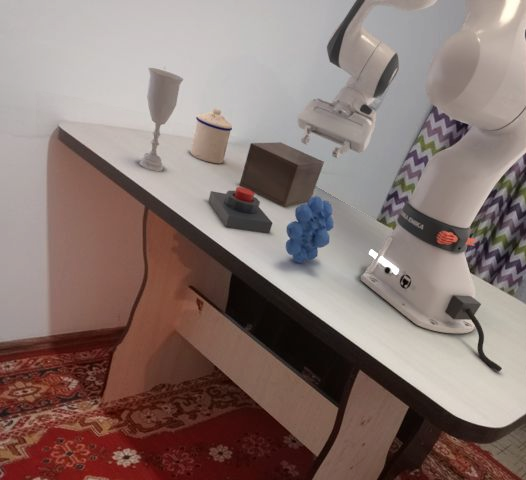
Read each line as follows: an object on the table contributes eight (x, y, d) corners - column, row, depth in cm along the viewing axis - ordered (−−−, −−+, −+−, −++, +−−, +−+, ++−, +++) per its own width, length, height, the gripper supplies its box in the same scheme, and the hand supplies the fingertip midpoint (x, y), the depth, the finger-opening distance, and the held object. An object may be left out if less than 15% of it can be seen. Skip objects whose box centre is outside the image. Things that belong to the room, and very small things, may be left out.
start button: (254, 204, 88) (257, 195, 87) (237, 201, 86) (239, 192, 85) (248, 197, 90) (250, 188, 89) (231, 194, 89) (233, 185, 88)
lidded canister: (230, 166, 119) (242, 118, 113) (199, 162, 114) (210, 111, 107) (207, 149, 126) (217, 104, 120) (178, 145, 121) (187, 96, 114)
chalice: (163, 175, 97) (179, 81, 87) (131, 165, 96) (144, 68, 86) (170, 167, 103) (186, 78, 93) (139, 157, 102) (152, 66, 92)
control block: (269, 233, 88) (275, 213, 86) (225, 227, 84) (231, 206, 82) (248, 208, 96) (254, 189, 94) (208, 201, 92) (212, 181, 90)
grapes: (295, 279, 75) (321, 208, 68) (266, 259, 78) (289, 189, 71) (335, 270, 83) (362, 206, 76) (307, 252, 86) (331, 190, 79)
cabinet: (269, 180, 119) (280, 142, 114) (310, 200, 116) (324, 161, 111) (239, 185, 108) (250, 143, 103) (284, 207, 104) (298, 164, 99)
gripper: (312, 87, 122) (284, 125, 120) (381, 114, 116) (353, 154, 114) (313, 106, 128) (286, 142, 126) (379, 132, 122) (352, 171, 120)
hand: (319, 148), depth 120 cm, fingers open, 8 cm apart
